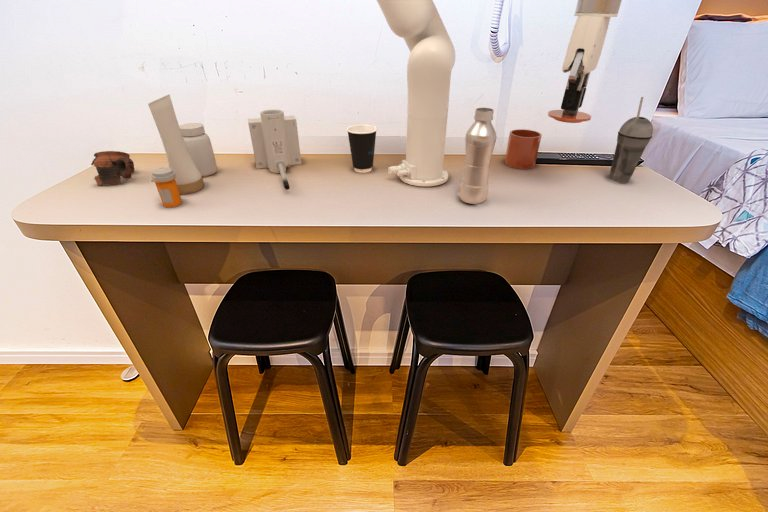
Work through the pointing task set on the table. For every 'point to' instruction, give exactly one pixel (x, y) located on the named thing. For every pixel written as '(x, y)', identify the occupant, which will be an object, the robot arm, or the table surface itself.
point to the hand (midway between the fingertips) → (571, 107)
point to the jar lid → (570, 114)
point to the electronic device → (275, 142)
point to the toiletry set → (180, 154)
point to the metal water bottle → (478, 157)
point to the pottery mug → (112, 167)
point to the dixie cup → (362, 146)
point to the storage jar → (522, 148)
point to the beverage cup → (630, 147)
